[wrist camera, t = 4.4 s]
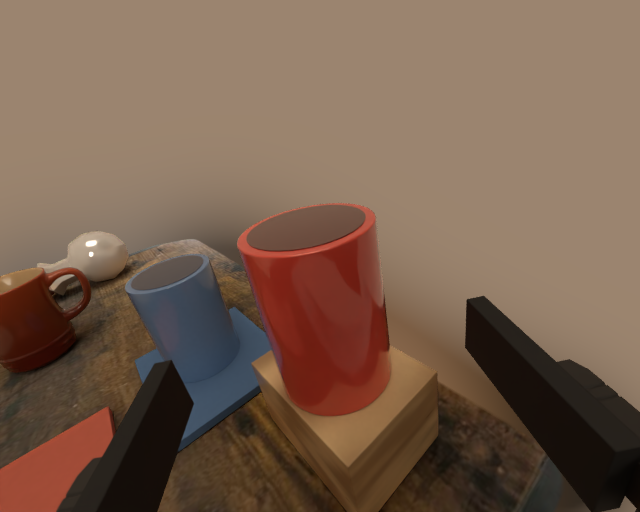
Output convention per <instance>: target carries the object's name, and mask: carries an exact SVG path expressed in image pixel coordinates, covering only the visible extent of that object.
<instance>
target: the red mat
mask: <svg viewBox="0 0 640 512" xmlns="http://www.w3.org/2000/svg"><path fill="white" fill-rule="evenodd" d="M115 433H116V431H115V426H114V420H113V415H112V411H111V410H110V408H109V407H106V408H104V409H102V410H101V411H99V412H97V413H95V414H94V415H92V416H90V417H89V418H87V419H85V420H84V421H82V422H80V423H78V424H77V425H75V426H73V427H72V428H70V429H68V430H66V431H65V432H63V433H61V434H60V435H58V436H56V437H54V438H53V439H51V440H49V441H48V442H46V443H44V444H42V445H41V446H39V447H37V448H36V449H34V450H32V451H30V452H29V453H27V454H25V455H24V456H22V457H20V458H18V459H17V460H15V461H13V462H12V463H10V464H8V465H7V466H5V467H3V468H1V469H0V512H56V510H57V508H58V507H59V505H60V503H61V502H62V500H63V499H64V498H65V497H66V493H67V492H68V490H69V488H70V487H71V485H72V483H73V482H74V480H75V478H76V477H77V475H78V474H79V473H80V472H81V471H82V470H83V469H84V468H85V467H86V465H87V464H88V463H89V462H90V461H91V460H92V459H93V458H98V457H102V456H103V454H104V452H105V451H106V449H107V447H108V445H109V443H110V442H111V440H112V438H113V436H114V435H115Z"/></svg>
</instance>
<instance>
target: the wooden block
mask: <svg viewBox="0 0 640 512" xmlns="http://www.w3.org/2000/svg"><path fill="white" fill-rule="evenodd" d="M390 354H391V363H392V371H391V376H390V380H389V382H388V384H387V386H386V388H385V389H384V391H383V392H382V393H381V395H380V396H379V397H378V398H377V399H376V400H374V401H373V402H372V403H371V404H369V405H368V406H366V407H364V408H362V409H360V410H358V411H356V412H353V413H350V414H345V415H340V416H321V415H316V414H312V413H309V412H307V411H305V410H302V409H301V408H299V407H298V406H296V405H295V404H294V403H293V402H292V401H291V400H290V399H289V397H288V396H287V394H286V393H285V391H284V388H283V385H282V382H281V379H280V375H279V372H278V369H277V366H276V363H275V360H274V357H273V354H272V351H271V350H270V351H269V352H267V353H266V354H264V355H263V356H261V357H260V358H258V359H257V360H255V361H254V362H252V363H251V365H252V367H253V370H254V373H255V375H256V378H257V381H258V383H259V386H260V389H261V391H262V394H263V397H264V400H265V402H266V405H267V408H268V410H269V413H270V416H271V418H272V420H273V421H274V422H275V423H276V425H277V426H278V427H279V428H280V430H281V431H282V432H283V433H284V434H285V436H286V437H287V438H288V439H289V441H290V442H291V443H292V444H293V446H294V447H295V448H296V449H297V451H298V452H299V453H300V454H301V456H302V457H303V458H304V459H305V460H306V462H307V463H308V464H309V465H310V467H311V468H312V469H313V470H314V472H315V473H316V474H317V475H318V477H319V478H320V479H321V480H322V481H323V483H324V484H325V485H326V486H327V488H328V489H329V490H330V491H331V493H332V494H333V495H334V496H335V498H336V499H337V500H338V501H339V503H340V504H341V505H342V506H343V507H344V509H345V510H346V511H347V512H379V510H380V509H381V508H382V506H383V505H384V504H385V503H386V501H387V500H388V499H389V498H390V496H391V495H392V494H393V492H394V491H395V490H396V489H397V487H398V486H399V485H400V483H401V482H402V481H403V480H404V478H405V477H406V476H407V475H408V473H409V472H410V471H411V469H412V468H413V467H414V466H415V464H416V463H417V462H418V461H419V459H420V458H421V457H422V455H423V454H424V453H425V452H426V450H427V449H428V448H429V446H430V445H431V444H432V443H433V441H434V440H435V439H436V438H437V436H438V386H437V371H435V370H434V369H432V368H430V367H428V366H426V365H425V364H423V363H421V362H419V361H418V360H416V359H414V358H412V357H410V356H408V355H407V354H405V353H403V352H401V351H399V350H398V349H396V348H394V347H392V346H390Z"/></svg>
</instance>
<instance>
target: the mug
mask: <svg viewBox="0 0 640 512" xmlns="http://www.w3.org/2000/svg"><path fill="white" fill-rule="evenodd" d="M68 274H72V275H75V276H76V277H77V278H78V280H79V282H80V284H81V286H82V289H83V296H82V299H81V300H80V301H79V302H78V303H77V304H76V305H74V306H73V307H71V308H68V309H63V308H61V307H60V306H59V305H58V303H57V302H56V301H55V299H54V298H53V296H52V295H51V292H50V290H49V287H50V286H51V285H52V284H53V282H54V281H55V280H56V279H58V278H60V277H62V276H64V275H68ZM90 299H91V287H90V283H89V281H88V279H87V277H86V275H85V274H84V273H83V272H82V271H81V270H79V269H77V268H73V267H66V268H62V269H58V270H55V271H53V272H50V273H46V272H45V270H44V269H43V268H41V267H38V268H29V269H24V270H20V271H16V272H13V273H9V274H6V275H3V276H0V364H1V365H2V367H4V368H6V369H8V370H9V371H10V372H14V373H20V372H28V371H32V370H36V369H38V368H41V367H43V366H45V365H47V364H49V363H51V362H53V361H55V360H56V359H58V358H59V357H61V356H62V355H63V354H65V353H66V352H67V351H68V350H69V349H70V348H71V347H72V346H73V344H74V342H75V340H76V334H75V329H74V328H73V326H72V323H71V321H70V320H71V319H73V318H74V317H76V316H77V315H78V314H80V313H81V312H82V311H83V310H84V309H85V308H86V306H87V305H88V304H89V302H90Z"/></svg>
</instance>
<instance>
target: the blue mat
mask: <svg viewBox="0 0 640 512" xmlns="http://www.w3.org/2000/svg"><path fill="white" fill-rule="evenodd" d="M229 313H230V316H231V318H232V321H233V324H234V326H235V329H236V332H237V334H238V337H239V340H240V349H239V352H238V354H237V356H236V357H235V358H234V360H233V361H232V362H231V363H230V364H229V365H228V366H227V367H226V368H224V369H223V370H222V371H220V372H219V373H217V374H215V375H214V376H212V377H210V378H207V379H205V380H202V381H198V382H192V383H184V385H185V386H186V388H187V390H188V392H189V394H190V396H191V398H192V400H193V402H194V405H193V408H192V411H191V414H190V417H189V420H188V423H187V426H186V429H185V432H184V435H183V437H182V440H181V443H180V446H179V449H178V452H179V451H181V450H182V449H183V448H185V447H186V446H187V445H189V444H190V443H191V442H193V441H194V440H196V439H197V438H198V437H200V436H201V435H202V434H204V433H205V432H206V431H208V430H209V429H210V428H212V427H213V426H215V425H216V424H217V423H219V422H220V421H221V420H223V419H224V418H225V417H227V416H228V415H230V414H231V413H232V412H234V411H235V410H236V409H238V408H239V407H240V406H242V405H243V404H245V403H246V402H247V401H249V400H250V399H251V398H253V397H254V396H255V395H257V394H258V393H260V392H261V389H260V386H259V383H258V381H257V378H256V375H255V373H254V370H253V367H252V365H251V363H252V362H254V361H255V360H257V359H258V358H260V357H261V356H263V355H264V354H266V353H267V352H269V351H270V350H271V348H270V345H269V342H268V339H267V336H266V333H265V332H263V331H262V330H261V329H260V328H259V327H257V326H256V325H255V324H254V323H253V322H252V321H250V320H249V319H248V318H247V317H246V316H244V315H243V314H242V313H241V312H240V311H239V310H237V309H236V308H235V307H233V308H231V309H229ZM159 362H163V360H162V358H161V356H160V354H159V352H158V350H157V349H155V350H153V351H151V352H149V353H147V354H145V355H144V356H142V357H140V358H138V359H136V360H135V363H136V366H137V369H138V372H139V375H140V378H141V380H142V383H144V381H145V379H146V377H147V376H148V374H149V372H150V370H151V369H152V367H153V365H154V363H159ZM178 452H177V453H178Z"/></svg>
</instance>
